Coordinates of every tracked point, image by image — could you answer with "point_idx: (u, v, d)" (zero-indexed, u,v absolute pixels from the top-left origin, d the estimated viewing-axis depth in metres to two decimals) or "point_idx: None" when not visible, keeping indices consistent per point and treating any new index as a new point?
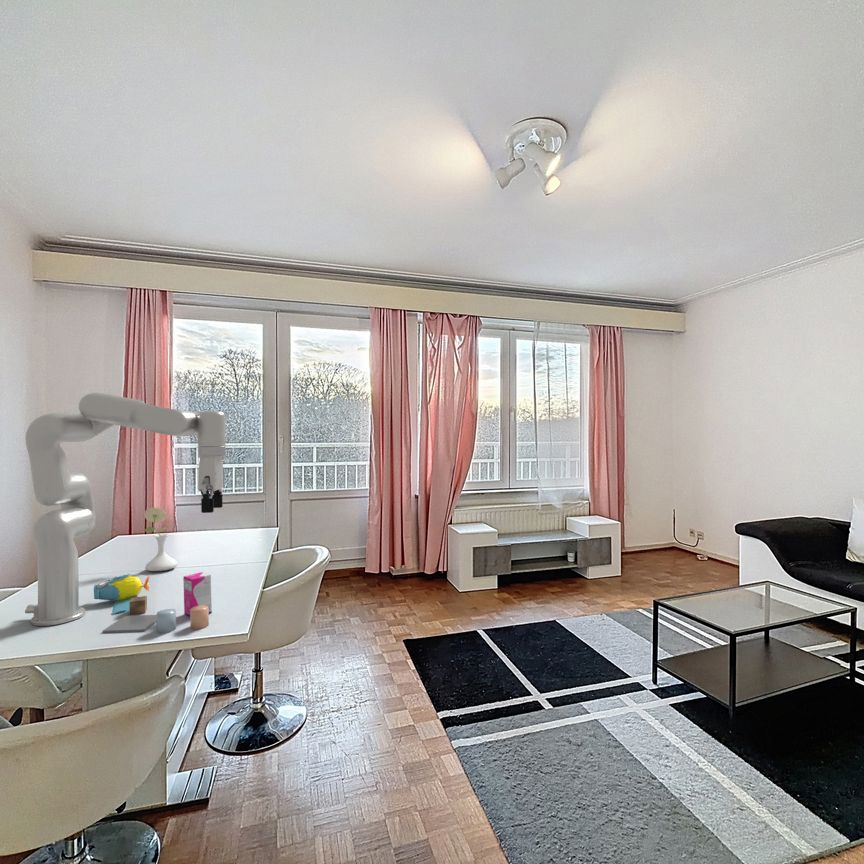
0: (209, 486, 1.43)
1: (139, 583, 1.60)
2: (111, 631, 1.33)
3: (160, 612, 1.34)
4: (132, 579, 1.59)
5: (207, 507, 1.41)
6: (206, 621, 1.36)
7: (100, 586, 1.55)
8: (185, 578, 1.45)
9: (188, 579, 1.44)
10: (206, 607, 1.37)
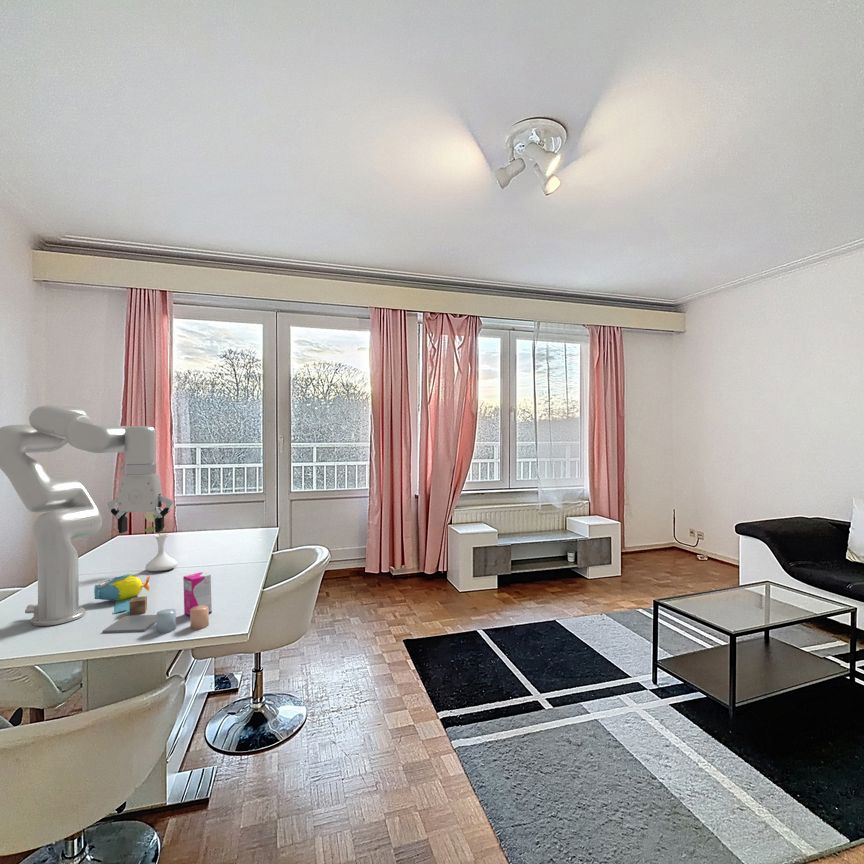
0: None
1: (139, 583, 1.61)
2: (111, 631, 1.33)
3: (160, 612, 1.34)
4: (132, 579, 1.60)
5: (163, 525, 1.37)
6: (206, 621, 1.36)
7: (100, 586, 1.56)
8: (185, 578, 1.45)
9: (188, 579, 1.44)
10: (206, 607, 1.37)
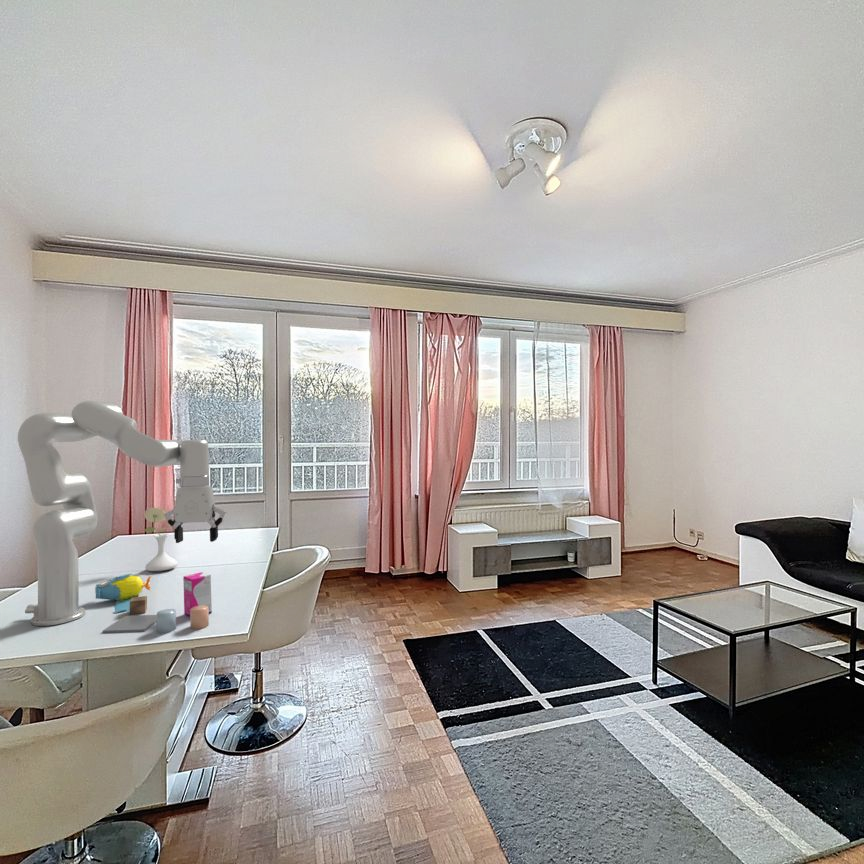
0: None
1: (140, 583, 1.61)
2: (111, 631, 1.33)
3: (160, 612, 1.34)
4: (133, 579, 1.60)
5: (217, 535, 1.43)
6: (206, 621, 1.36)
7: (101, 586, 1.56)
8: (185, 578, 1.45)
9: (188, 579, 1.44)
10: (206, 607, 1.37)
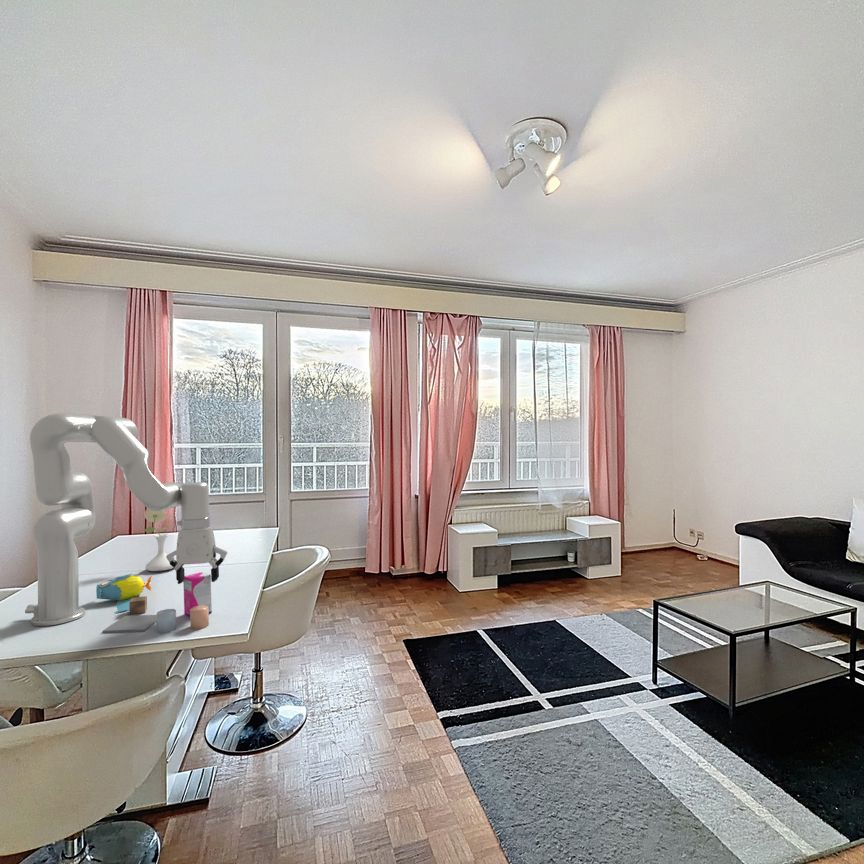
0: None
1: (141, 583, 1.61)
2: (111, 631, 1.33)
3: (160, 612, 1.34)
4: (134, 579, 1.60)
5: (218, 574, 1.47)
6: (206, 621, 1.36)
7: (102, 586, 1.56)
8: (185, 578, 1.45)
9: (188, 579, 1.44)
10: (206, 607, 1.37)
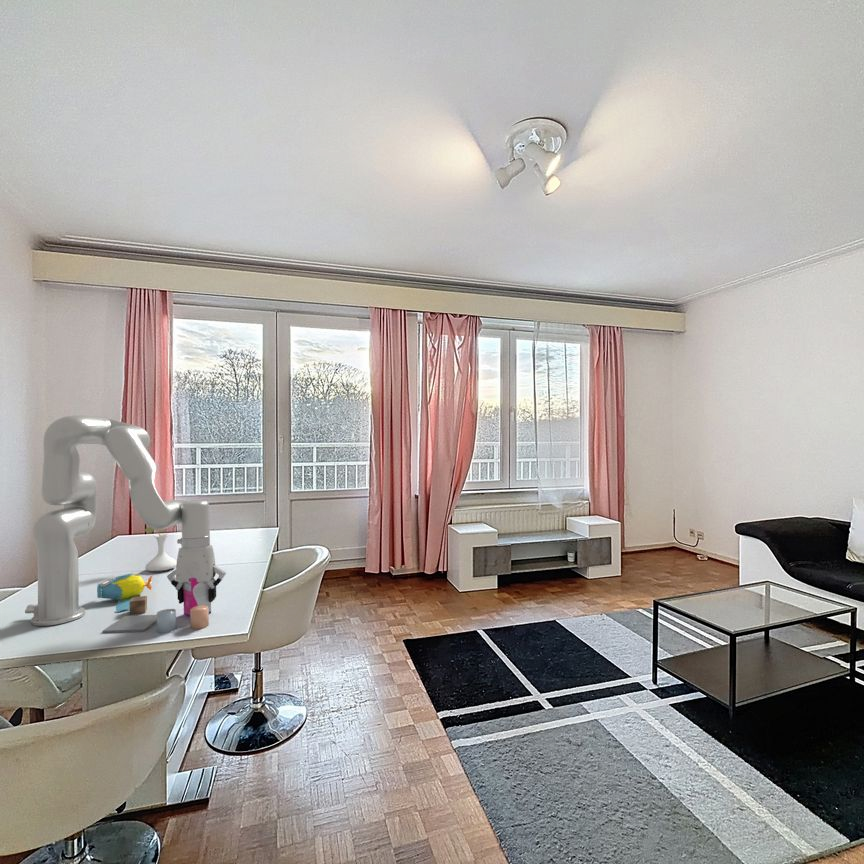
0: None
1: (142, 582, 1.62)
2: (111, 631, 1.33)
3: (160, 612, 1.34)
4: (135, 578, 1.61)
5: (215, 595, 1.47)
6: (206, 621, 1.36)
7: (103, 585, 1.57)
8: None
9: None
10: (206, 607, 1.37)
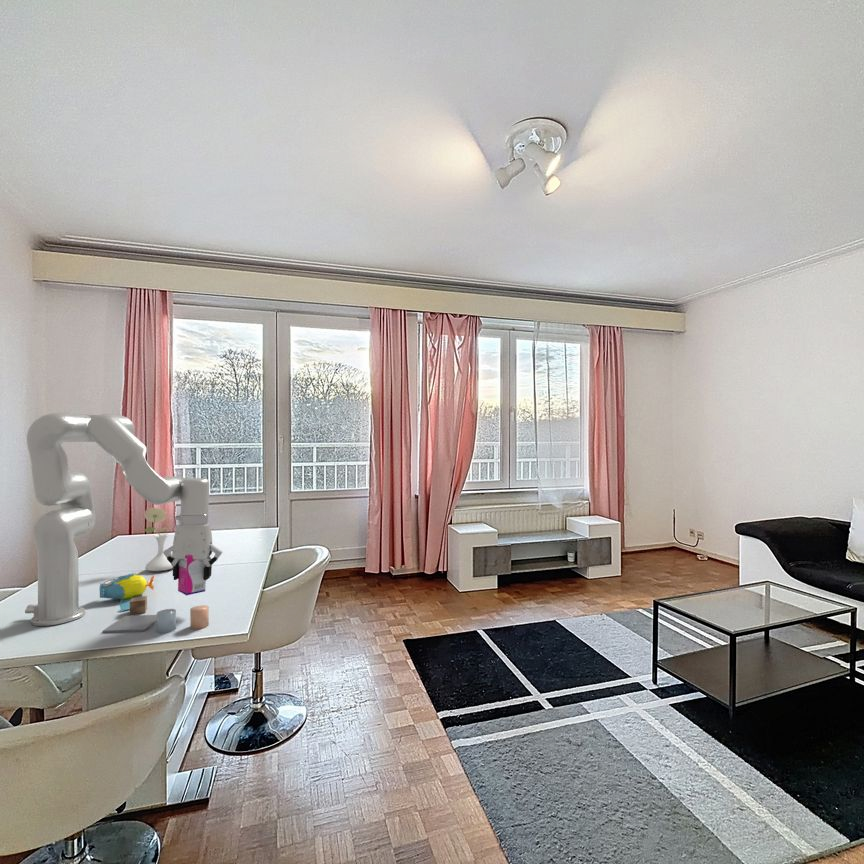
0: None
1: (144, 582, 1.62)
2: (111, 631, 1.33)
3: (160, 612, 1.34)
4: (137, 578, 1.61)
5: (210, 573, 1.47)
6: (206, 621, 1.36)
7: (106, 585, 1.57)
8: None
9: None
10: (206, 607, 1.37)
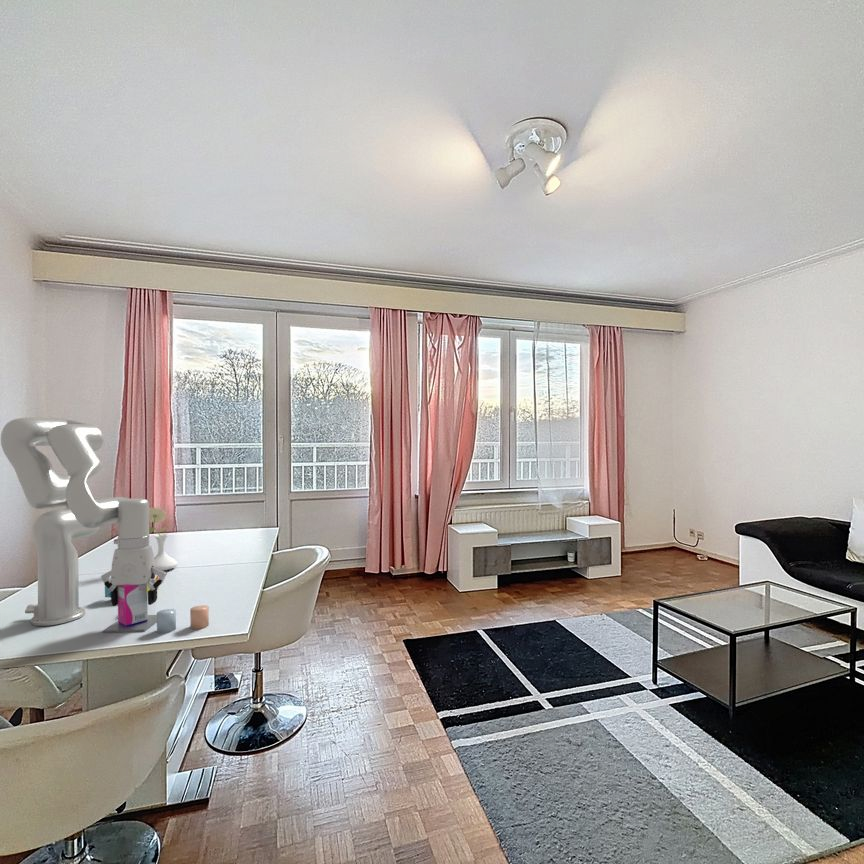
0: None
1: None
2: (111, 631, 1.33)
3: (160, 612, 1.34)
4: None
5: (156, 597, 1.39)
6: (206, 621, 1.36)
7: None
8: None
9: (121, 586, 1.36)
10: (206, 607, 1.37)
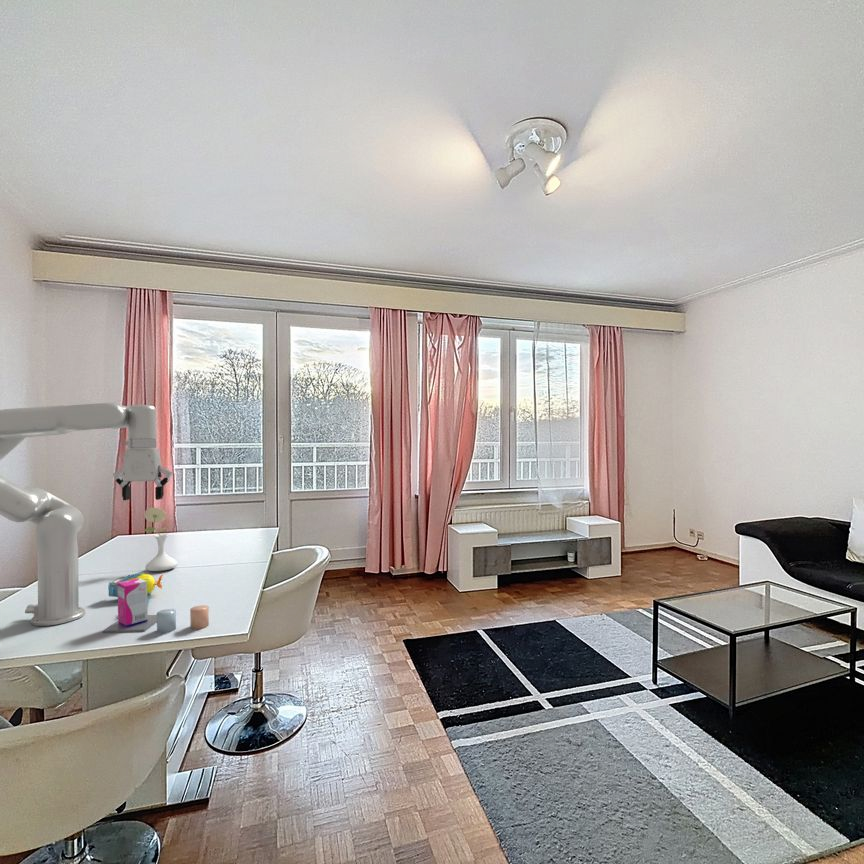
0: None
1: (152, 581, 1.63)
2: (111, 631, 1.33)
3: (160, 612, 1.34)
4: (145, 577, 1.62)
5: (162, 494, 1.54)
6: (206, 621, 1.36)
7: (114, 584, 1.58)
8: (119, 585, 1.37)
9: (121, 586, 1.36)
10: (206, 607, 1.37)
